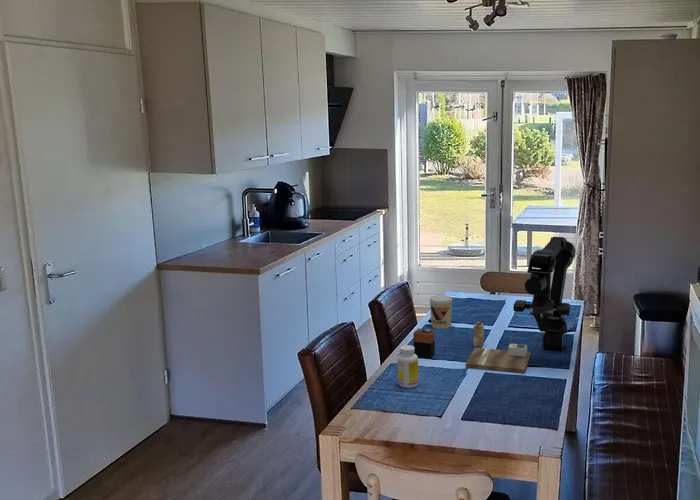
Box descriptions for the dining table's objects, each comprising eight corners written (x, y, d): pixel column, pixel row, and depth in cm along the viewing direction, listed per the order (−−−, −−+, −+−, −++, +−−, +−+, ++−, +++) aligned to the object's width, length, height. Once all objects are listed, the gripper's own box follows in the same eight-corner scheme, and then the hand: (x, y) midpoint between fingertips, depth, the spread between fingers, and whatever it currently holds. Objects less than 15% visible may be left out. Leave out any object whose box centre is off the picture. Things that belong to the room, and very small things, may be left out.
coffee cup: (427, 328, 288) (426, 300, 286) (433, 321, 297) (433, 294, 294) (449, 330, 285) (449, 301, 282) (455, 323, 293) (454, 295, 291)
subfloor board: (530, 356, 253) (530, 352, 252) (524, 373, 237) (524, 369, 237) (474, 351, 260) (474, 347, 259) (465, 367, 244) (465, 363, 244)
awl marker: (483, 343, 267) (483, 320, 266) (482, 346, 265) (482, 323, 263) (475, 343, 269) (475, 320, 267) (473, 345, 266) (473, 322, 264)
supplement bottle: (420, 381, 234) (419, 345, 231) (415, 389, 228) (415, 351, 225) (401, 379, 236) (400, 343, 233) (395, 387, 230) (394, 350, 227)
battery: (430, 358, 255) (430, 332, 252) (413, 355, 258) (412, 329, 256) (435, 354, 258) (434, 328, 256) (418, 352, 261) (417, 326, 259)
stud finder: (527, 352, 251) (527, 344, 251) (525, 356, 248) (525, 348, 247) (510, 351, 253) (510, 343, 253) (508, 355, 250) (508, 346, 249)
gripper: (511, 292, 239) (510, 336, 242) (568, 295, 232) (567, 340, 235) (515, 284, 249) (515, 326, 252) (571, 287, 242) (569, 330, 245)
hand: (541, 330), depth 246 cm, fingers closed
